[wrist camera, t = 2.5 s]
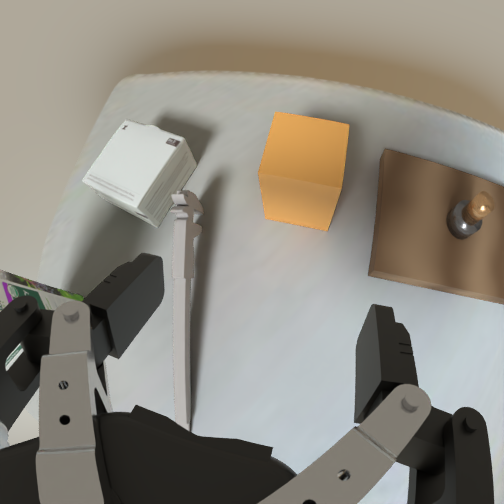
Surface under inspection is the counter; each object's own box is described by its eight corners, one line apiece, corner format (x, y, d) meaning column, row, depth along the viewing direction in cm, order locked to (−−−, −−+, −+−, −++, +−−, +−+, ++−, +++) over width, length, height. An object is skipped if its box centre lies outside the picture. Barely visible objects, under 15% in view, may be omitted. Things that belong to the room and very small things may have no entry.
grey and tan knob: (471, 213, 24) (498, 190, 20) (471, 242, 24) (501, 223, 19) (446, 205, 25) (470, 180, 20) (445, 235, 24) (473, 213, 19)
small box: (104, 202, 31) (79, 179, 26) (144, 144, 33) (125, 116, 28) (158, 230, 29) (136, 209, 24) (200, 165, 31) (186, 135, 26)
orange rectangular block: (336, 177, 29) (349, 124, 21) (327, 231, 27) (341, 188, 20) (278, 166, 30) (275, 111, 22) (265, 218, 28) (258, 172, 21)
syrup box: (110, 343, 26) (-9, 329, 13) (72, 375, 26) (-44, 375, 12) (83, 295, 28) (-29, 254, 14) (49, 328, 27) (-62, 304, 14)
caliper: (193, 210, 30) (172, 178, 24) (205, 210, 30) (186, 177, 24) (180, 432, 24) (152, 452, 18) (192, 434, 24) (167, 455, 18)
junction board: (504, 198, 26) (513, 190, 24) (507, 305, 23) (518, 301, 21) (379, 159, 29) (384, 148, 27) (367, 275, 26) (373, 270, 24)
